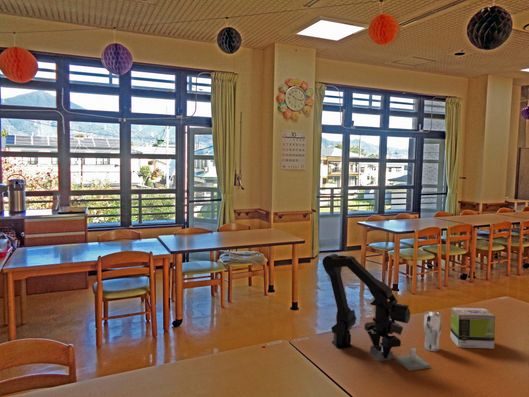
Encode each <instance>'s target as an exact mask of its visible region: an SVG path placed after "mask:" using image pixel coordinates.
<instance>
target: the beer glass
mask: <svg viewBox="0 0 529 397" xmlns="http://www.w3.org/2000/svg"><path fill="white" fill-rule="evenodd" d="M442 324H443V323H442V314H441V313H439V312H437V311H430V310H429V311H425V312H424V317H423V331H424V337H425V338H424V339H425V340H424V343H423V348H424V349H425V351H430V352H438V351H440V344H439V340H440V336H441V332H442Z"/></svg>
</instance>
